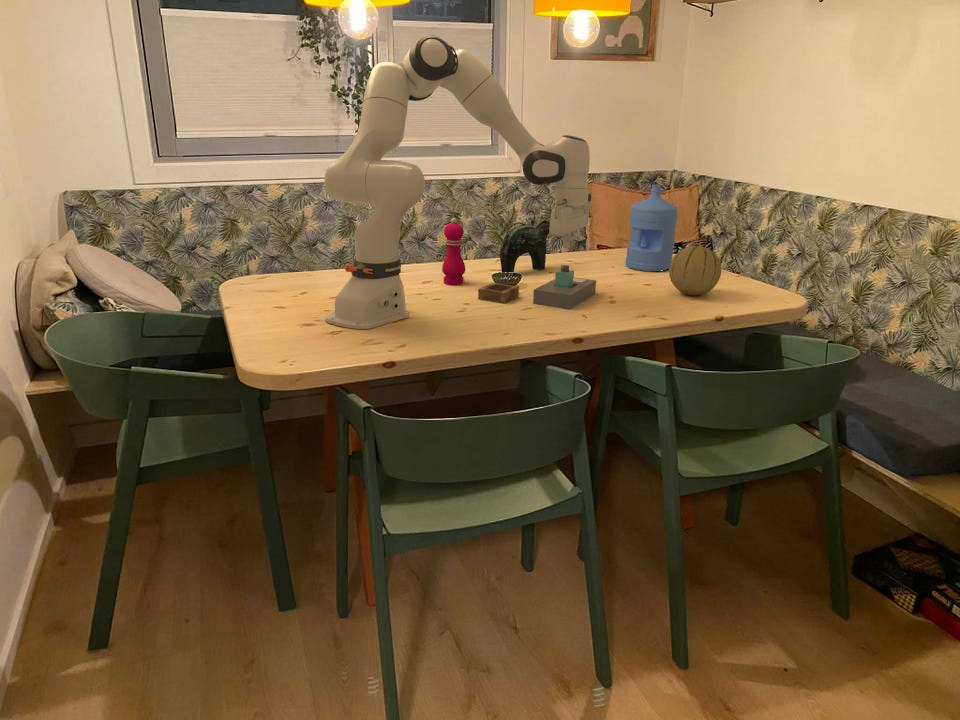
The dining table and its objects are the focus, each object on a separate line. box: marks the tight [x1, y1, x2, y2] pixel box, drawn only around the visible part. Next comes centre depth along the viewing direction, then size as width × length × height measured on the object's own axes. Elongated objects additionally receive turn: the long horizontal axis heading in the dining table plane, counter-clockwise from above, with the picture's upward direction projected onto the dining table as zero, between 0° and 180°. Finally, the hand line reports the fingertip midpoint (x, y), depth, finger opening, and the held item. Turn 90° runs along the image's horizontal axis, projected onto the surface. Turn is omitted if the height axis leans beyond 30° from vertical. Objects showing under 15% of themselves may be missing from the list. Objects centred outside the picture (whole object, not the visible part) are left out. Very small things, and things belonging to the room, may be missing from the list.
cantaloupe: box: [668, 242, 722, 296], centre depth 204 cm, size 15×15×15 cm
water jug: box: [625, 183, 678, 272], centre depth 235 cm, size 16×16×28 cm
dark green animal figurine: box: [499, 210, 550, 273], centre depth 227 cm, size 20×6×20 cm, turn 130°
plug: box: [554, 264, 575, 288], centre depth 198 cm, size 4×4×10 cm
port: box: [532, 276, 597, 310], centre depth 199 cm, size 20×11×4 cm, turn 151°
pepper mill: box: [441, 217, 466, 286], centre depth 211 cm, size 7×7×20 cm
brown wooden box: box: [477, 282, 520, 304], centre depth 198 cm, size 9×9×3 cm
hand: (567, 247), depth 195 cm, fingers closed
